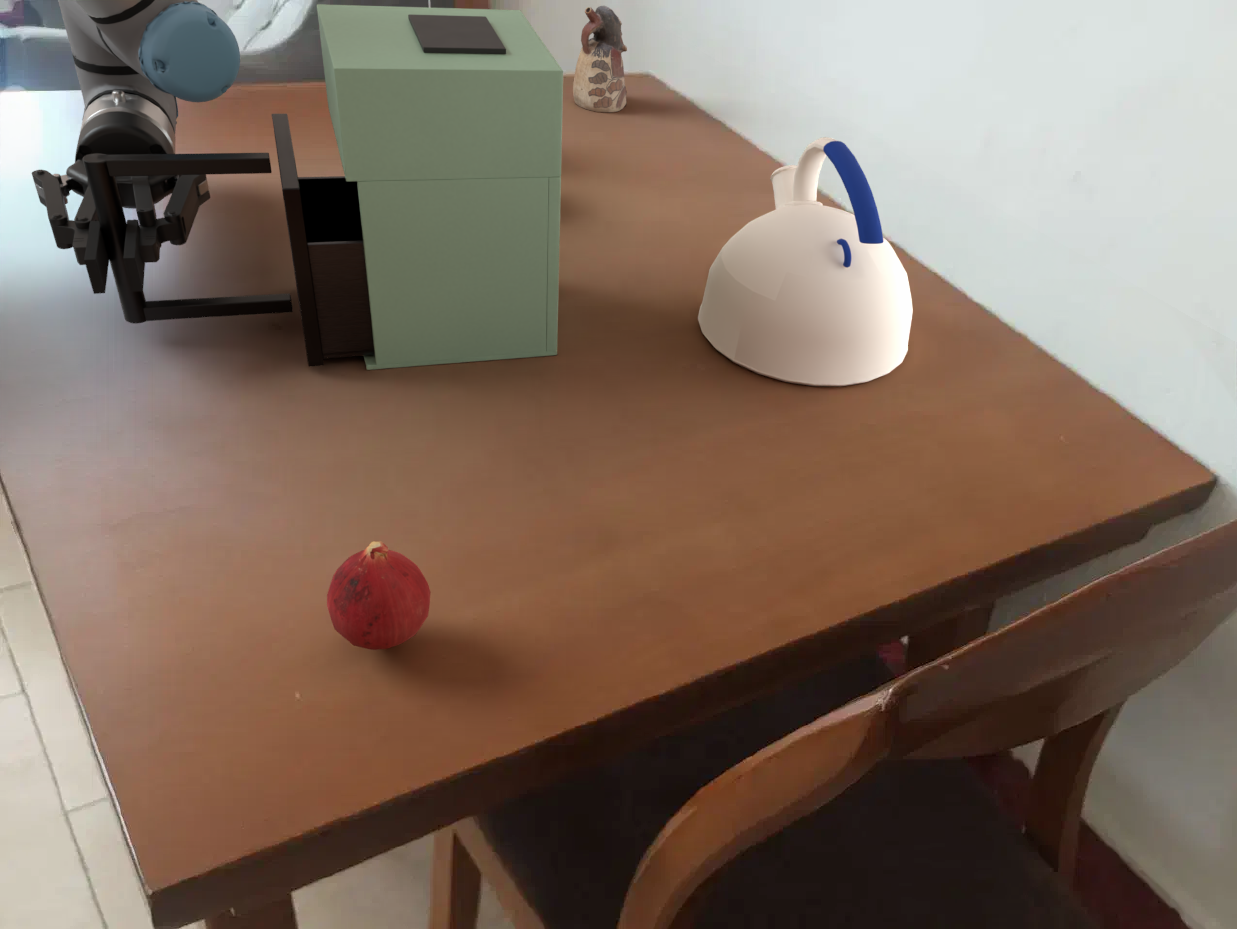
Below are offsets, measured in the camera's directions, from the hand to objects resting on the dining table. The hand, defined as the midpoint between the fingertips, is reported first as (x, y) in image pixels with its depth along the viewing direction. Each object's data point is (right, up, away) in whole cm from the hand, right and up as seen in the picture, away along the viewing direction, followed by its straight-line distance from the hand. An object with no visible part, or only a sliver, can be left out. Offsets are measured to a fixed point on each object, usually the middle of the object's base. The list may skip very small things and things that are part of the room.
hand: (114, 275), depth 80 cm
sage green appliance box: (+20, 0, +18) cm, 27 cm away
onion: (+24, -26, -13) cm, 38 cm away
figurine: (+28, +39, +65) cm, 81 cm away
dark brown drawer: (+10, -1, +13) cm, 16 cm away
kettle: (+52, +1, +24) cm, 58 cm away
